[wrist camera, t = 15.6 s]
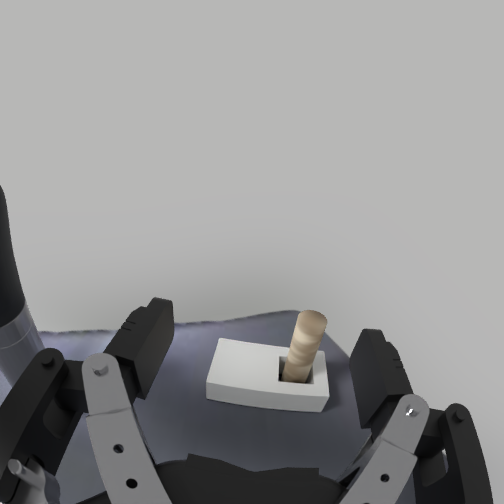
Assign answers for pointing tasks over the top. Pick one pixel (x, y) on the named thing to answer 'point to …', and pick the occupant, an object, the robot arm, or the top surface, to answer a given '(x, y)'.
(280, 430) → the top surface
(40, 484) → the robot arm
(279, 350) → the hole block
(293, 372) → the birch peg
